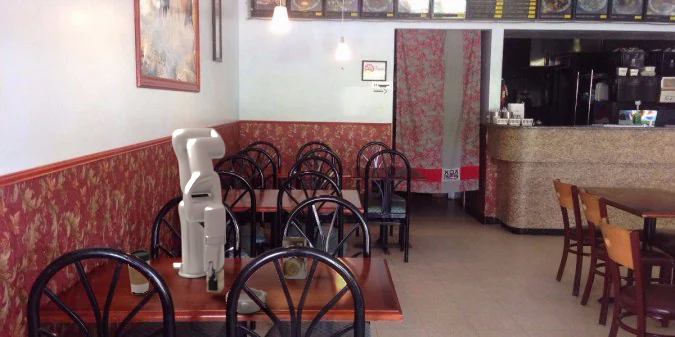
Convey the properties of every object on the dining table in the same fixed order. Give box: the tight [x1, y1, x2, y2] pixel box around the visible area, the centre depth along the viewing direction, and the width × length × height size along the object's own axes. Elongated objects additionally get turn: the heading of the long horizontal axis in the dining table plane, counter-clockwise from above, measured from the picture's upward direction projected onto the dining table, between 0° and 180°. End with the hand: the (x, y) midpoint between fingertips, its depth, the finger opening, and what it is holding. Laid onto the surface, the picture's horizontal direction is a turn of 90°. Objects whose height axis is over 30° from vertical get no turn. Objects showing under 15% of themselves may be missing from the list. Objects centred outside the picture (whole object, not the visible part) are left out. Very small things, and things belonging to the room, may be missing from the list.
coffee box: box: [282, 236, 308, 280], centre depth 223 cm, size 9×6×16 cm
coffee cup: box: [128, 249, 152, 294], centre depth 204 cm, size 8×8×15 cm
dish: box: [225, 287, 267, 314], centre depth 191 cm, size 14×14×5 cm
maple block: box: [206, 268, 225, 293], centre depth 200 cm, size 5×5×7 cm
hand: (215, 286), depth 200 cm, fingers closed on maple block, 5 cm apart
